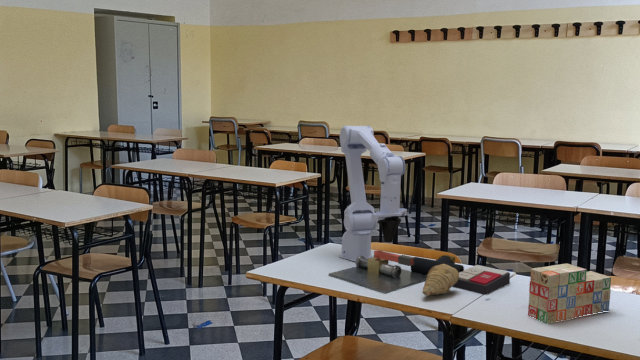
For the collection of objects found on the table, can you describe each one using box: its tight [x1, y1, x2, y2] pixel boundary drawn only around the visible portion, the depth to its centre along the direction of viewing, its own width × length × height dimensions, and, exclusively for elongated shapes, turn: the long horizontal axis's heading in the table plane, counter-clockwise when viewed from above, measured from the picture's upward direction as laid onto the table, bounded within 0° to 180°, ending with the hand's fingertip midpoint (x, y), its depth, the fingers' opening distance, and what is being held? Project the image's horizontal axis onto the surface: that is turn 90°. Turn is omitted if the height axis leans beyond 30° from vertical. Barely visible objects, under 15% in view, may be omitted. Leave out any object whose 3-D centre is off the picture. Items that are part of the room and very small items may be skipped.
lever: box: [373, 249, 415, 267], centre depth 178 cm, size 13×3×2 cm, turn 48°
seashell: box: [421, 264, 459, 296], centre depth 162 cm, size 14×8×8 cm, turn 148°
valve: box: [328, 256, 427, 294], centre depth 178 cm, size 22×21×5 cm
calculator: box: [451, 264, 511, 296], centre depth 173 cm, size 11×4×15 cm
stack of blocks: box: [527, 262, 612, 324], centre depth 149 cm, size 21×6×12 cm, turn 115°
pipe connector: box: [410, 254, 465, 276], centre depth 183 cm, size 12×5×15 cm
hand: (388, 241), depth 179 cm, fingers closed
